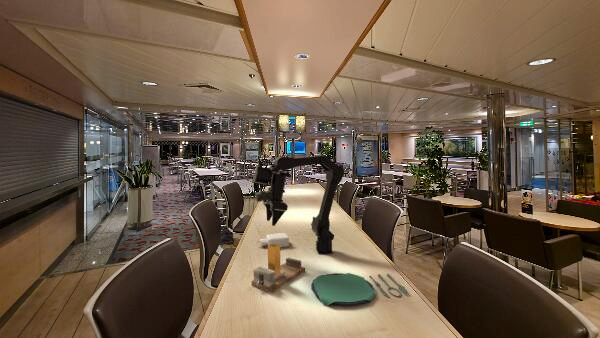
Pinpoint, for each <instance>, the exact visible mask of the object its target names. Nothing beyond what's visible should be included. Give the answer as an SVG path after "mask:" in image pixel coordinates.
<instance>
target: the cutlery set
mask: <svg viewBox="0 0 600 338" xmlns="http://www.w3.org/2000/svg"><path fill="white" fill-rule="evenodd" d="M368 276H369V278H370V279H371V280H372V281H373V283H374V284H375V286H376V287H377V288H378V289H379V291H380V292H381V293H382V294H383V295H384V296H385V297H386V298H388V299H390V295H389V294H388V293H387V292H386V291H385V290H384V289H383V287H382V286H381V283H379V282H378V281H376V280H375V279H374V278H373V277H372V275H368ZM386 276H387V278H389V280H390V281H391V282H393V284H394V285H396V286H397V287H398V288H395V287H392V286H390V285H389V284H388V282H387V281H386V280H385V279H384V276H382V275H381V274H377V277H379V279H381V281H382V282H383V283H384V284H385V285H386V286H387V287H388V288H387V290H388V292H389V293H390V294H391V295H392V296H394V297H397V295H396V294H393V293H392V292H391V291H392V290H393V291H396V292H397V293H398V297H401V296H402V294H403V295H404V296H405V297H412V294H410V293H409V291H407V289H406V287H405V286H402V284H400V283H399V282H397V281H396V280H395V279H394V278H393V277H392V275H391V274H390V273H386ZM311 281H312V282H311V286H310V287H311V291H312V292H313V294H314V295H315V296H316V297H319V301H320V302H321V303H322V304H323V305H324V306H327V307H328V306H329V305H331V304H336V305H341V306H342V305H345V306H346V305H348V306H353V305H354V306H355V305H359V304H363V303H366V302H368V301H369V302H371V301H372V300H373V299H374V298H375V297H376V295H377V293H376V290H375V288H374V285H373V284H372V283H371V282H369V281H368V280H367V279H366V278H365V277H363V276H360V275H358V274H353V273H350V272H348V273H347V272H346V273H342V272H341V273H336V272H335V273H325V274H320V275H318V276H316V277H315V278H313V279H312V280H311Z"/></svg>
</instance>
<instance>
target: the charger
mask: <svg viewBox="0 0 600 338" xmlns="http://www.w3.org/2000/svg"><path fill="white" fill-rule="evenodd" d="M255 243H256V244H260V245H261V246H267V247H268V246H269V245H271V244H278V245H280V248H285V247H287V248H288V247H289V246H290V244H289V243H290V239H289V236H288V234H287V233H285V232H281V233H270V234H266V235H265V238H260V239H259V240H255Z"/></svg>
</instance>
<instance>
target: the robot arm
mask: <svg viewBox="0 0 600 338" xmlns="http://www.w3.org/2000/svg"><path fill="white" fill-rule="evenodd" d="M313 165H315V166H316V165H319V166H320V167H321V168H322V169H323V170H324V171H325V173H326V174H325V180H326V185H325V187H324V193H323V197H322V200H321V205H320V208H319V211H318V214H317V215H316V217H315V216H313V217H312V222H311V224H310V226H311V230H312V232H313V233H314V234H315V236H316V241H315V251H316V252H317V254H318V255H324V254H326V255H328V254H334V252H333V240H334V238H335V234H334V233H333V232H332V231H331V230H330V228H331V226H330V225H331V224H330V214H331V212H332V211H331V210H332V206H333V203H334V199H335V196H336V191H337V187H338V185H339V184H340V183H341V182H342V180H343V177H344V175H345V169H344V168H343V166H341V165H339V164H337V163H336V162H334V161H333V160H331V159H330V158H329V157H328V156H327V155H326V154H325V155H324V154H319V155H313V156H303V157H291V156H288V157H287V156H278V157H276V158H275V159H274V161H273V163H272V164H271V165H270V166H269V167H262V166H261V165H259V166H258V165H257V166H256V169H255V172H254V174H253V176H252V177H253V180H252V181H253V183H255V184H256V183H257V184H263V185H268V184H269V183H270V186H268V189H267V190H263V191H262V190H261V191H259V192H255V193H254V195H255V201H257V203H258V202H262V204H263V205H264V207H265V210H266V211H265V213H266V221H267V222H269V221H270V220H271V226H272V227H273V226H274V227H275V226H277V223H278V222H279V221H280V220H281V217H283V215H284V214H285V213H286V212H287V211H288V204H287V203H286V202H284V200H283V197H284V193H286V190H285V186H286V180H287V178H292V175H291V173H290V172H289V170H293V169H294V168H297V167H304V166H313ZM282 171H283V172H282Z"/></svg>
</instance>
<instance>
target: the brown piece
mask: <svg viewBox="0 0 600 338" xmlns="http://www.w3.org/2000/svg"><path fill="white" fill-rule="evenodd" d="M280 270H281V271H285V276H283V277H282V278H280V279H278V280H277V281H276V279H275V271H273V270H270V269H268V267H264V266H258V267H256V268H254V269H253V279H252V280H251V286H253V287H255V288H257V289H261V290H263V291H267V292H270V293H274V292H276V291H277V290H279V289H280V288H282V287H283V286H284V285H287V284H289V282H291V281H293V280H295V279H296V278H297V277H299V276H301V275H302V274H304V273H305V272H306V267H305V266H302V260H301V259H300V260H299V259H295V258H292V257H287V258H285V262H284V263H283V264H280ZM263 279H264V282H263V283H262V284H260V285H258V286H257V285H256V283H257V282H259V281H261V280H263Z"/></svg>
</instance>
